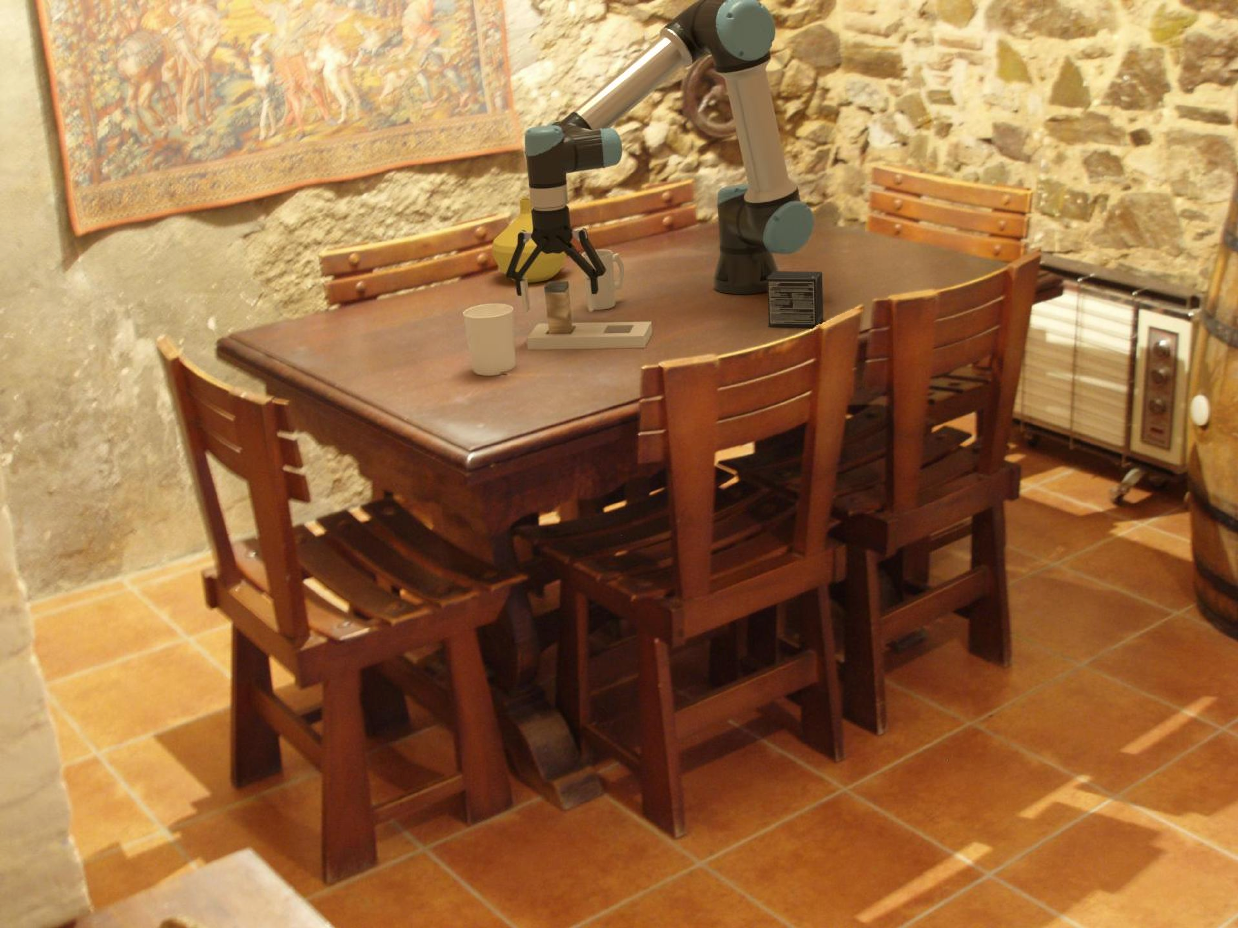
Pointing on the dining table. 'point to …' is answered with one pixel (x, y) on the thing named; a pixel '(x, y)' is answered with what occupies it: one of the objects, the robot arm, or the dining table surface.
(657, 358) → the dining table surface
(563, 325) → the plug
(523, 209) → the vase
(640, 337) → the panel
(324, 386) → the dining table surface
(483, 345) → the beige cup
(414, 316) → the dining table surface
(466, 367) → the dining table surface
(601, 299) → the mug
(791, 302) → the small box
